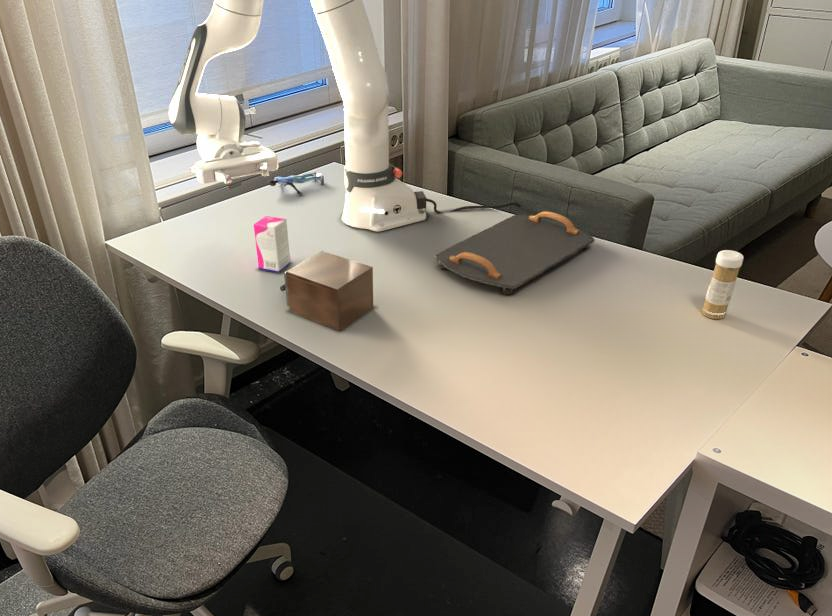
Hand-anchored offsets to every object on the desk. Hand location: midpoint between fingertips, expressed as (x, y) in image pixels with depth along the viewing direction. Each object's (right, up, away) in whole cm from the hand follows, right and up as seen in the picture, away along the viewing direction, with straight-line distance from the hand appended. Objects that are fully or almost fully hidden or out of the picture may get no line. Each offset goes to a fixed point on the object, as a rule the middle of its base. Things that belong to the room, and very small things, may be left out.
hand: (247, 176), depth 166 cm
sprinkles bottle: (+98, -34, -23) cm, 106 cm away
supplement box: (+6, -21, +1) cm, 22 cm away
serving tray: (+63, -19, +1) cm, 66 cm away
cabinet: (+20, -33, -16) cm, 42 cm away
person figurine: (+8, +7, +42) cm, 44 cm away
